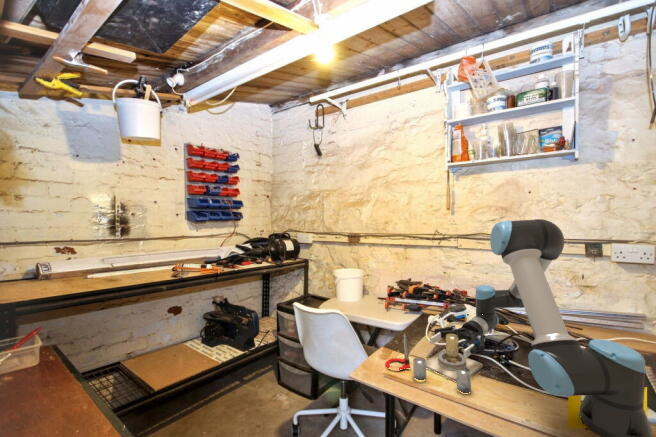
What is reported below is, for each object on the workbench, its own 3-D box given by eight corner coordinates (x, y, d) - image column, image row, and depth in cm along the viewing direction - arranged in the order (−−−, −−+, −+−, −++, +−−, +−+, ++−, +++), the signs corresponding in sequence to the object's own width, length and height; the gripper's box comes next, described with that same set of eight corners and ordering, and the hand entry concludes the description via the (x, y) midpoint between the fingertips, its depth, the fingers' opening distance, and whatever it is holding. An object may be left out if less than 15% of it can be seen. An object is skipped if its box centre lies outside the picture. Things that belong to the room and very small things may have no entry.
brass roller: (460, 363, 122) (460, 336, 121) (454, 368, 120) (454, 340, 119) (450, 359, 126) (449, 332, 125) (443, 363, 123) (443, 336, 122)
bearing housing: (482, 366, 122) (482, 357, 121) (461, 385, 112) (461, 375, 111) (444, 351, 134) (444, 343, 134) (421, 366, 124) (421, 357, 124)
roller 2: (473, 390, 108) (473, 371, 107) (465, 396, 106) (464, 376, 105) (462, 384, 112) (461, 365, 111) (454, 389, 110) (453, 370, 109)
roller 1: (428, 378, 116) (428, 360, 116) (421, 384, 113) (421, 365, 113) (418, 373, 120) (417, 356, 119) (411, 378, 117) (410, 360, 116)
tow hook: (387, 373, 122) (411, 371, 121) (384, 341, 121) (408, 339, 120) (384, 361, 130) (407, 359, 130) (381, 331, 129) (404, 329, 128)
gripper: (506, 348, 124) (480, 370, 111) (447, 328, 143) (418, 345, 130) (506, 329, 123) (480, 349, 110) (446, 312, 143) (418, 327, 129)
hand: (447, 347), depth 120 cm, fingers open, 13 cm apart
